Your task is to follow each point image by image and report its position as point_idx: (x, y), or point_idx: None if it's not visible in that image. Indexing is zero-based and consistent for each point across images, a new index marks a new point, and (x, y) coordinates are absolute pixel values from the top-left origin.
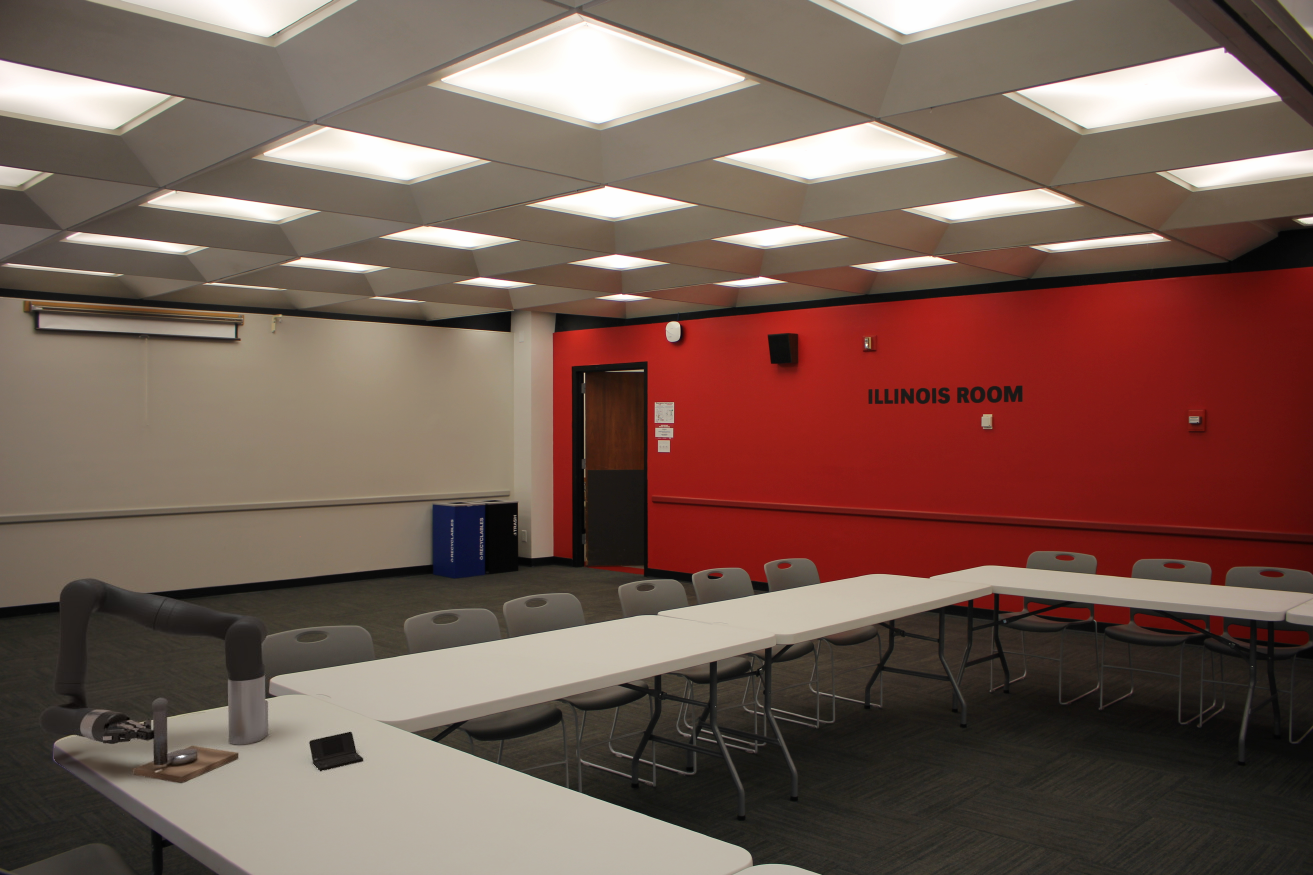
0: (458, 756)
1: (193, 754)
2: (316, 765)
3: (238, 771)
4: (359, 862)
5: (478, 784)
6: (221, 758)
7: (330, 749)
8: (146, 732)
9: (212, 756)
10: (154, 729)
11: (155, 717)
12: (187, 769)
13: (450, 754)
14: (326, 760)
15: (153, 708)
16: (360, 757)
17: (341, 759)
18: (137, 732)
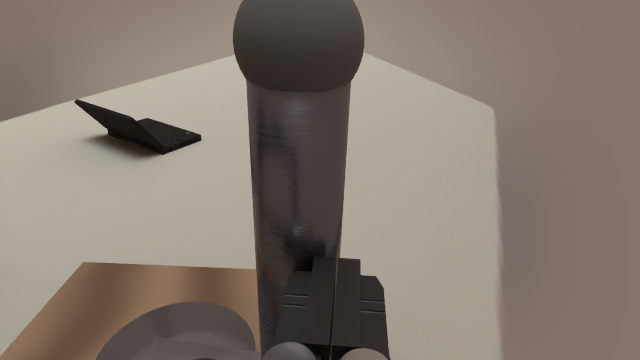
0: (138, 84)
1: (189, 303)
2: (183, 142)
3: (216, 226)
4: (418, 77)
5: (232, 70)
6: (147, 273)
7: (125, 129)
8: (359, 277)
9: (117, 312)
10: (341, 218)
11: (347, 128)
12: None
13: (129, 87)
14: (158, 139)
15: (361, 56)
16: (143, 120)
17: (153, 129)
18: (382, 351)
